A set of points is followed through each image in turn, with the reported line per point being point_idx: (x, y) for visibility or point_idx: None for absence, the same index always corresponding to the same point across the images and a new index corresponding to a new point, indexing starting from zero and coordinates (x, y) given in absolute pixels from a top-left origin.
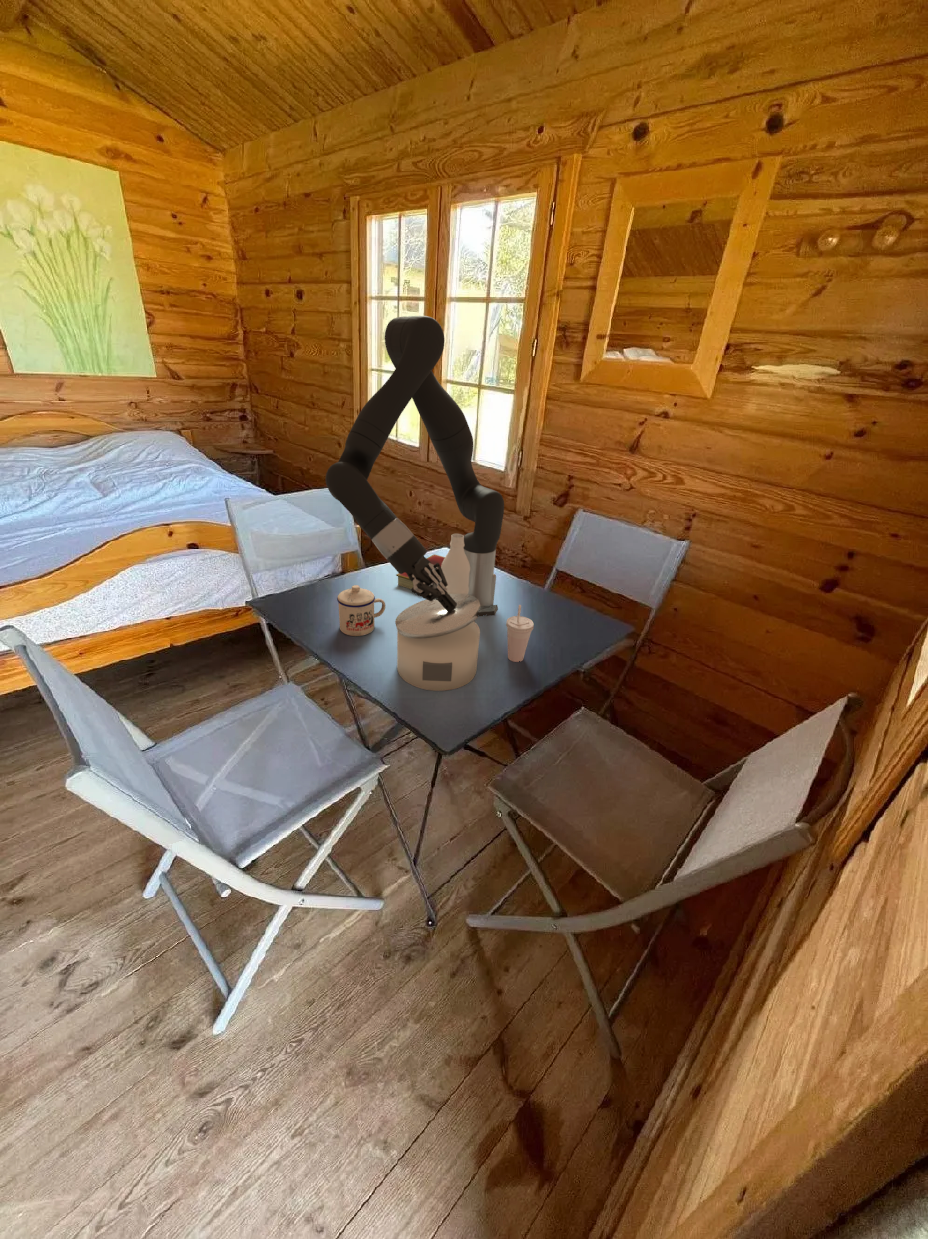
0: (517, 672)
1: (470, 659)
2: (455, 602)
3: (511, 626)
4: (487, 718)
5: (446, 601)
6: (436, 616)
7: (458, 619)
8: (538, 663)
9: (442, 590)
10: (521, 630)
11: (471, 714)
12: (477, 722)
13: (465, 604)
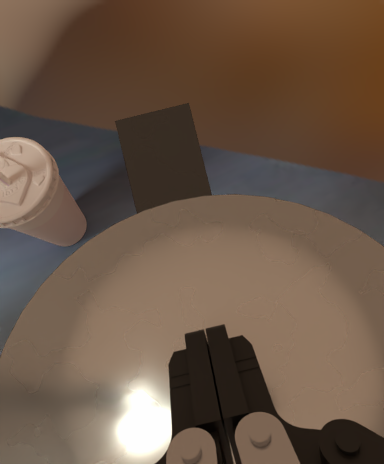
0: (128, 196)
1: None
2: (190, 341)
3: (47, 188)
4: (329, 175)
5: (261, 376)
6: (293, 411)
7: (316, 247)
8: (66, 173)
9: (249, 448)
10: (51, 158)
11: (342, 208)
12: (356, 186)
13: (130, 308)
